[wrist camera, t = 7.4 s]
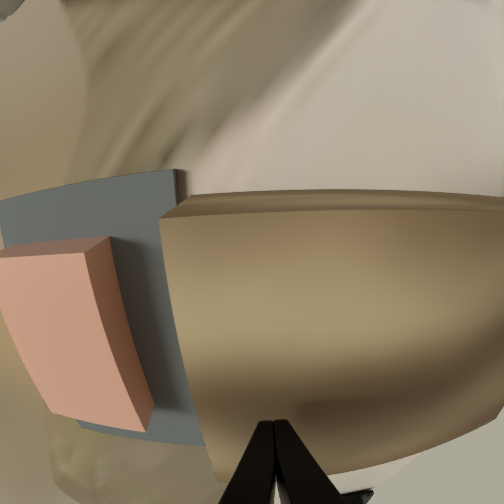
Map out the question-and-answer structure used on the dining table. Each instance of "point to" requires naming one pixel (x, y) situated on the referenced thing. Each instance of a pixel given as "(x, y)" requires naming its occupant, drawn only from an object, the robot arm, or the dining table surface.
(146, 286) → the mat
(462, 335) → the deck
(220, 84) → the dining table surface
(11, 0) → the photo printer
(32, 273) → the salmon pink block
